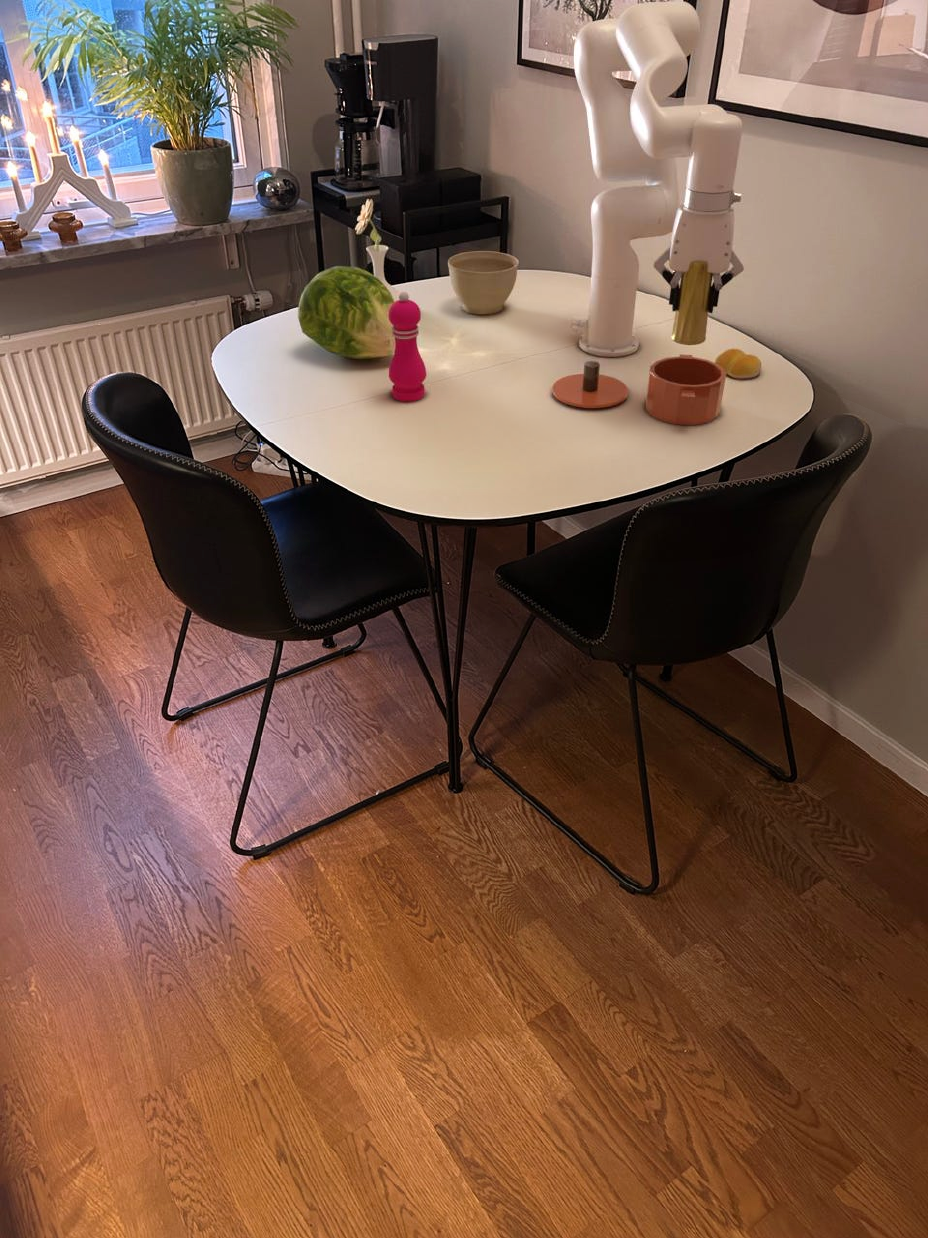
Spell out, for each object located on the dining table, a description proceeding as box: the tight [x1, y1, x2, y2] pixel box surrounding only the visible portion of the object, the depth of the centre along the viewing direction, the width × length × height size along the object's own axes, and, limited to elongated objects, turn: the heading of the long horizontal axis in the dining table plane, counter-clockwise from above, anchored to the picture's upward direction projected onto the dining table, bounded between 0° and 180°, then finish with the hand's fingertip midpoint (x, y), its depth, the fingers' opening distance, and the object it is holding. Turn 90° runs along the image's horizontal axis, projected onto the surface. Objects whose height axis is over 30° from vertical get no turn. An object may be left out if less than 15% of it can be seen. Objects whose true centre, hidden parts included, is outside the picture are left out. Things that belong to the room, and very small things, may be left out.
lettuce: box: [297, 265, 395, 360], centre depth 194 cm, size 18×23×19 cm
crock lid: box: [551, 360, 629, 409], centre depth 179 cm, size 15×15×6 cm
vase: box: [670, 261, 713, 346], centre depth 162 cm, size 6×6×14 cm
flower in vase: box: [354, 198, 401, 302], centre depth 211 cm, size 13×11×25 cm
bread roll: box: [714, 348, 762, 380], centre depth 187 cm, size 8×9×4 cm
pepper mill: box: [388, 291, 427, 402], centre depth 175 cm, size 7×7×20 cm
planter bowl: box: [447, 250, 520, 315], centre depth 216 cm, size 16×16×11 cm
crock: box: [645, 354, 727, 426], centre depth 173 cm, size 14×19×8 cm
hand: (692, 308), depth 163 cm, fingers closed on vase, 5 cm apart
